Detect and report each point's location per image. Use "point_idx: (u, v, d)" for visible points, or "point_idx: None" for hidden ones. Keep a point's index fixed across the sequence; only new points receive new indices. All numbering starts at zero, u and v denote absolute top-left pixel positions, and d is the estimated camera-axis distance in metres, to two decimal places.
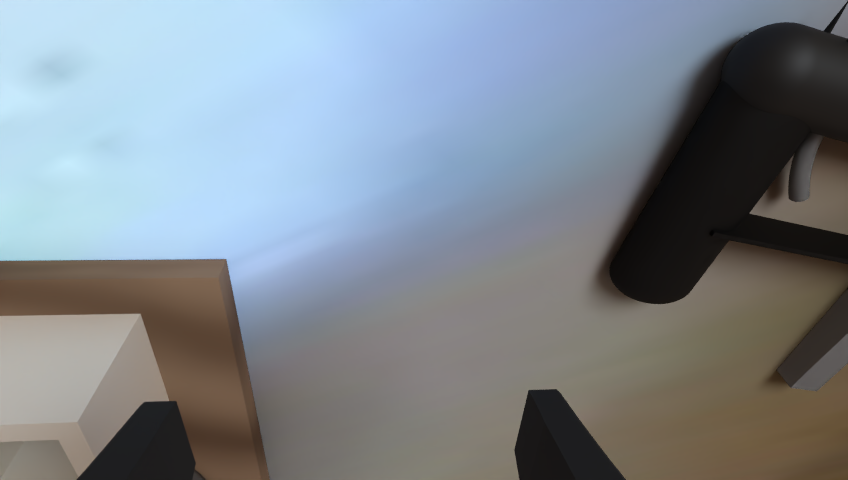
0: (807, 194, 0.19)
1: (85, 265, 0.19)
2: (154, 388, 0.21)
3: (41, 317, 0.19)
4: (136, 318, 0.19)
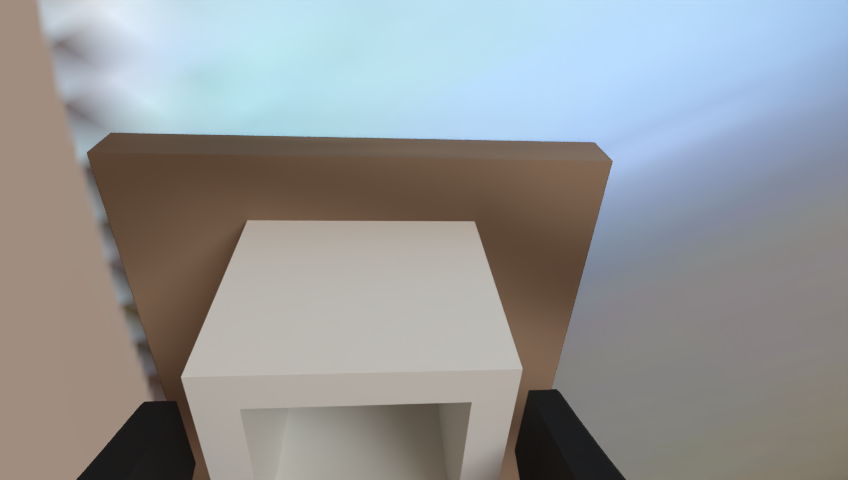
0: None
1: (400, 143, 0.12)
2: None
3: (329, 224, 0.13)
4: (475, 227, 0.13)
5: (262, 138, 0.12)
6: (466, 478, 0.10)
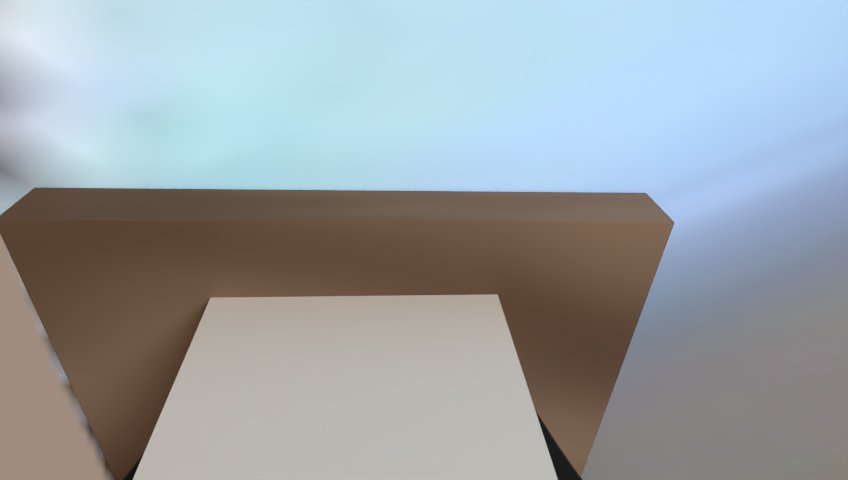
0: None
1: (404, 198, 0.10)
2: None
3: (315, 300, 0.10)
4: (499, 303, 0.10)
5: (228, 192, 0.10)
6: None
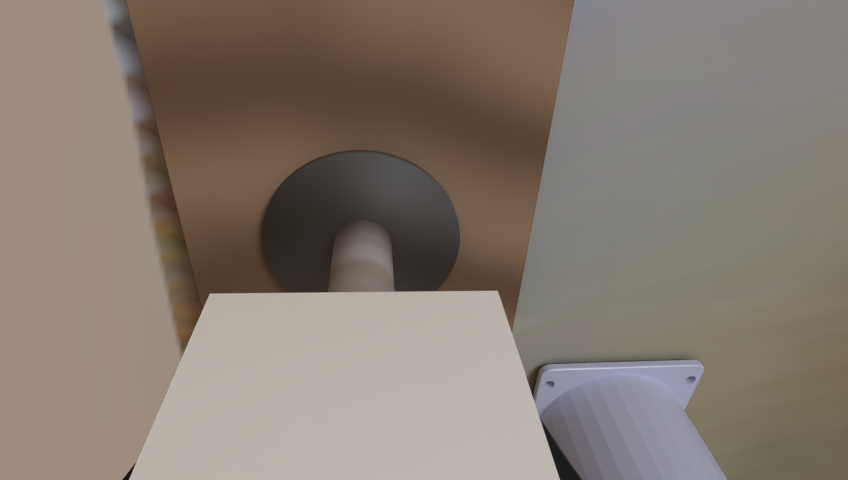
0: None
1: None
2: None
3: (315, 296, 0.10)
4: (499, 300, 0.10)
5: None
6: None
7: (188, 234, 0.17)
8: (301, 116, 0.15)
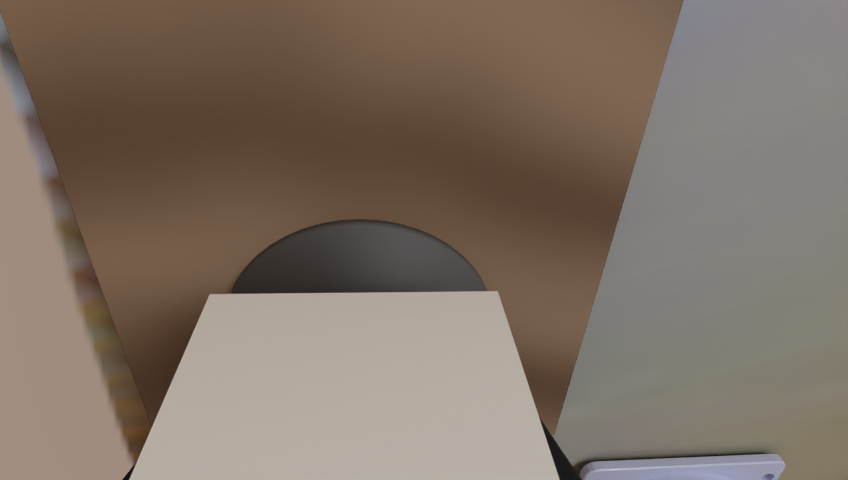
0: None
1: None
2: None
3: (315, 297, 0.10)
4: (499, 300, 0.10)
5: None
6: None
7: (122, 328, 0.12)
8: (275, 175, 0.11)
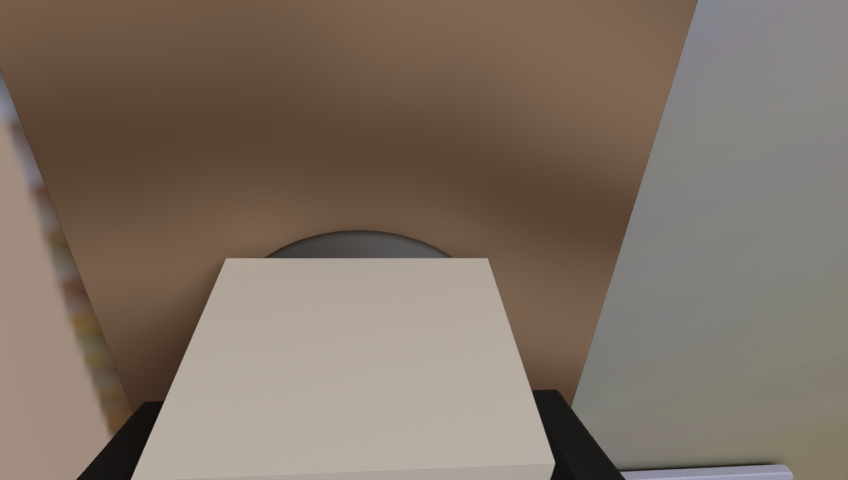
0: None
1: None
2: None
3: (321, 262, 0.11)
4: (489, 265, 0.11)
5: None
6: None
7: (112, 341, 0.12)
8: (270, 185, 0.10)
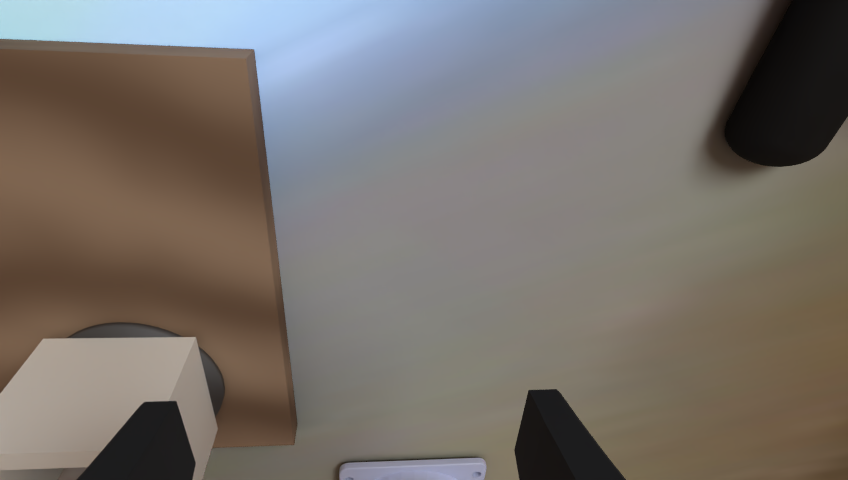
0: None
1: (75, 44, 0.15)
2: (205, 409, 0.21)
3: (98, 340, 0.20)
4: (193, 342, 0.20)
5: None
6: None
7: None
8: (62, 301, 0.19)
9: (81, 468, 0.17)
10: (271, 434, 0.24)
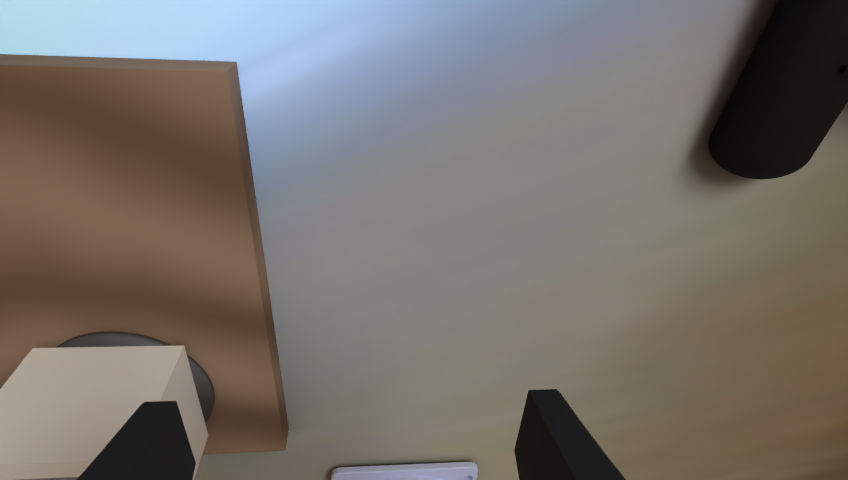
0: None
1: (57, 58, 0.15)
2: (194, 417, 0.21)
3: (87, 349, 0.20)
4: (181, 350, 0.20)
5: None
6: None
7: None
8: (51, 311, 0.19)
9: (69, 477, 0.17)
10: (262, 440, 0.24)
